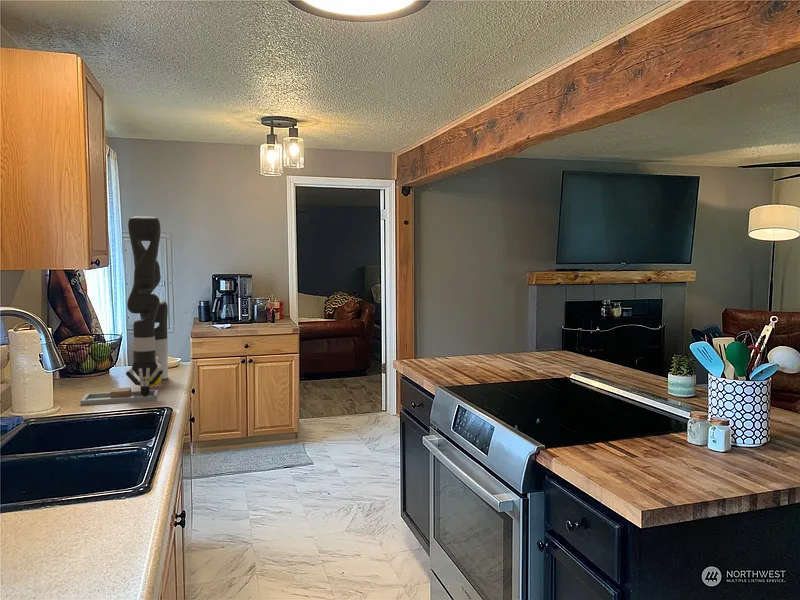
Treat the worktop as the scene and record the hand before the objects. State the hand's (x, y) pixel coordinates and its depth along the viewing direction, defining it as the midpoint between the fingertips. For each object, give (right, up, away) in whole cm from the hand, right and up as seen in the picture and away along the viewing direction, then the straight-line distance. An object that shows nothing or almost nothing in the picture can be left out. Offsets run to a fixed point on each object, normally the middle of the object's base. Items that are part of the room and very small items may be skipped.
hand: (145, 396), depth 212 cm
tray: (-8, -2, -2) cm, 8 cm away
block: (-8, -1, -3) cm, 8 cm away
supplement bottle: (-5, -1, +17) cm, 18 cm away
